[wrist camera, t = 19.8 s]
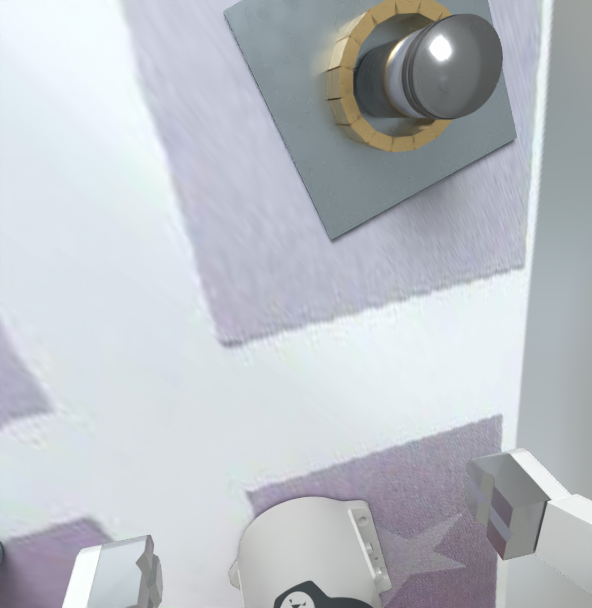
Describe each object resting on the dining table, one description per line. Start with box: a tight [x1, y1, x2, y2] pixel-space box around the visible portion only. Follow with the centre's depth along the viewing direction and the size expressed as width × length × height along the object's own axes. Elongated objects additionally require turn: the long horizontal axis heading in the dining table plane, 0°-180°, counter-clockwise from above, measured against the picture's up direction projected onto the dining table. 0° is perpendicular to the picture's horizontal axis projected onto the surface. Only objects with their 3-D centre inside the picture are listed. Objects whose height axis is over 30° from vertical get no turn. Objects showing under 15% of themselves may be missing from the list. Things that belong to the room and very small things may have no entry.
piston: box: [357, 14, 503, 120], centre depth 28 cm, size 5×5×10 cm
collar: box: [224, 0, 517, 240], centre depth 31 cm, size 18×18×4 cm
